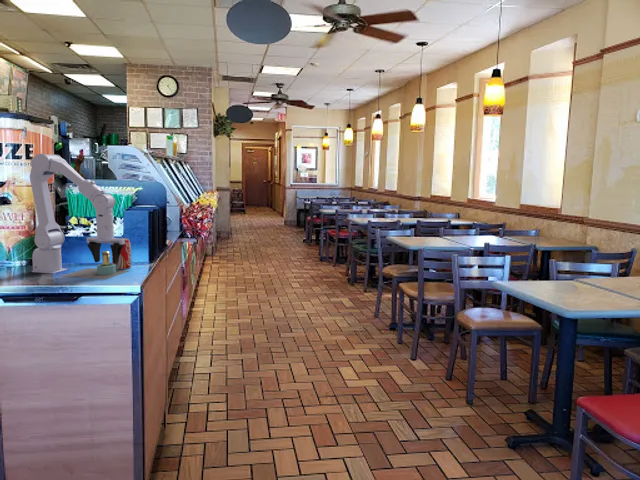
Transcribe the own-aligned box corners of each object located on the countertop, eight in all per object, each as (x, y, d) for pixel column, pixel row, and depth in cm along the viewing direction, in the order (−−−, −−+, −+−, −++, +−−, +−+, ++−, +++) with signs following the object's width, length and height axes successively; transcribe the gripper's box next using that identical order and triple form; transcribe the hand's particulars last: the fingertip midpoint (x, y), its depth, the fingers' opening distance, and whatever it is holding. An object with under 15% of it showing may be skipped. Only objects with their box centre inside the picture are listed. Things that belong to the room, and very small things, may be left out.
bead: (93, 274, 187) (93, 266, 186) (104, 270, 193) (103, 263, 193) (109, 275, 186) (109, 267, 185) (119, 271, 192) (119, 264, 192)
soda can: (124, 271, 195) (124, 240, 193) (108, 270, 196) (107, 239, 195) (135, 267, 202) (134, 238, 200) (119, 266, 203) (118, 237, 202)
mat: (60, 277, 182) (60, 276, 182) (88, 269, 198) (88, 268, 198) (105, 280, 179) (105, 279, 179) (130, 271, 194) (130, 270, 194)
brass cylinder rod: (101, 273, 188) (100, 252, 188) (105, 272, 191) (105, 251, 190) (107, 273, 188) (106, 252, 187) (111, 272, 190) (110, 251, 189)
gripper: (80, 226, 184) (82, 263, 186) (116, 228, 182) (117, 265, 184) (92, 224, 191) (94, 259, 193) (127, 226, 189) (128, 262, 190)
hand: (106, 262), depth 189 cm, fingers open, 7 cm apart
